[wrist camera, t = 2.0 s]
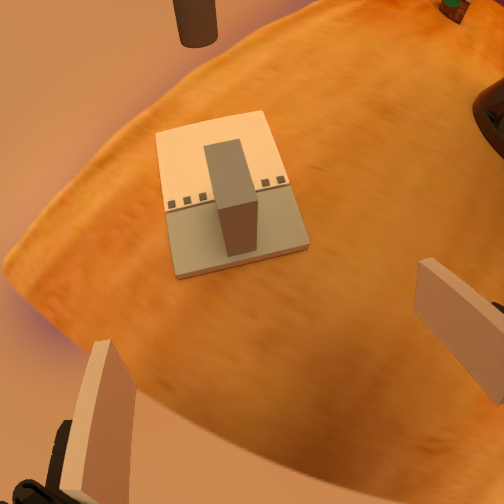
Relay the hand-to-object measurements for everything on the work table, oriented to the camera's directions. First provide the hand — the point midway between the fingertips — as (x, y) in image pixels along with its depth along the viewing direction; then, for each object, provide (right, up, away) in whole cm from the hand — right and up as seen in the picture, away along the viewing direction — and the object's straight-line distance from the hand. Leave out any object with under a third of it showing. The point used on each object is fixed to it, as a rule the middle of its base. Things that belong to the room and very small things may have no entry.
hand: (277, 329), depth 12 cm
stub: (-2, +5, +17) cm, 18 cm away
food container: (+47, +62, +38) cm, 87 cm away
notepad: (-4, +12, +20) cm, 24 cm away
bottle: (-9, +36, +29) cm, 47 cm away
